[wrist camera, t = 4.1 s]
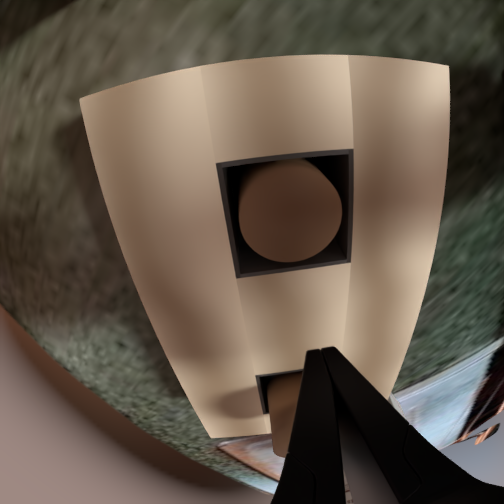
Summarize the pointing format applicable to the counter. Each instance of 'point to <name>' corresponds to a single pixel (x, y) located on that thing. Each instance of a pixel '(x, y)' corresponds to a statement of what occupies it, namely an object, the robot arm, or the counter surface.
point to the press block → (228, 228)
